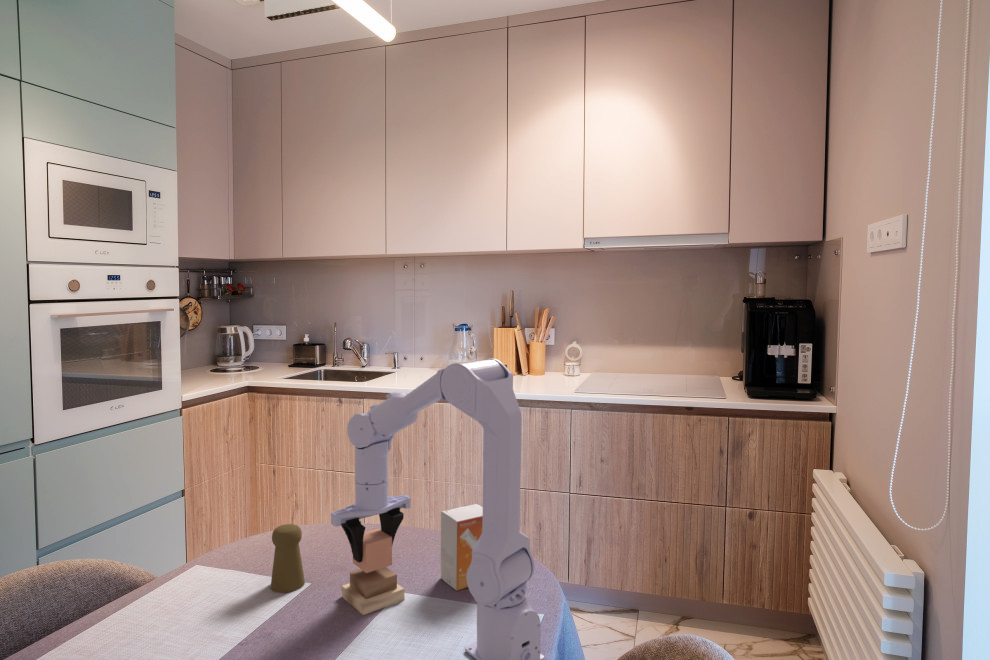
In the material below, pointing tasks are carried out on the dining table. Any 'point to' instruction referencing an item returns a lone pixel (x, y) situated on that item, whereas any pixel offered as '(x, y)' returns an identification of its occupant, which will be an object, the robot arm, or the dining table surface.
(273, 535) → the olive game pawn
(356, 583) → the walnut top slab
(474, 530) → the small box
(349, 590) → the birch base slab
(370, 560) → the terracotta cube
